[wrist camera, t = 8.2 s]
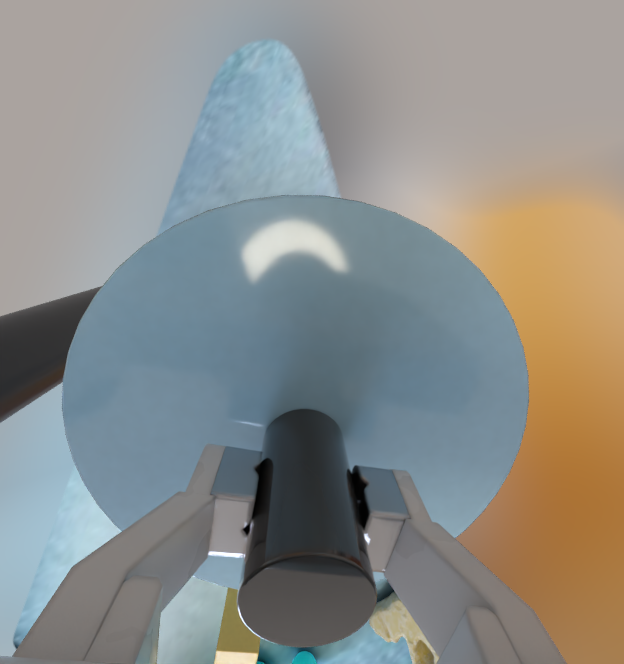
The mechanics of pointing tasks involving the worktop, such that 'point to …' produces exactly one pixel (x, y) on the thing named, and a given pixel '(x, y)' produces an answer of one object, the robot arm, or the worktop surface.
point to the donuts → (301, 658)
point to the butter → (235, 636)
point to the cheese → (401, 629)
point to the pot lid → (297, 390)
